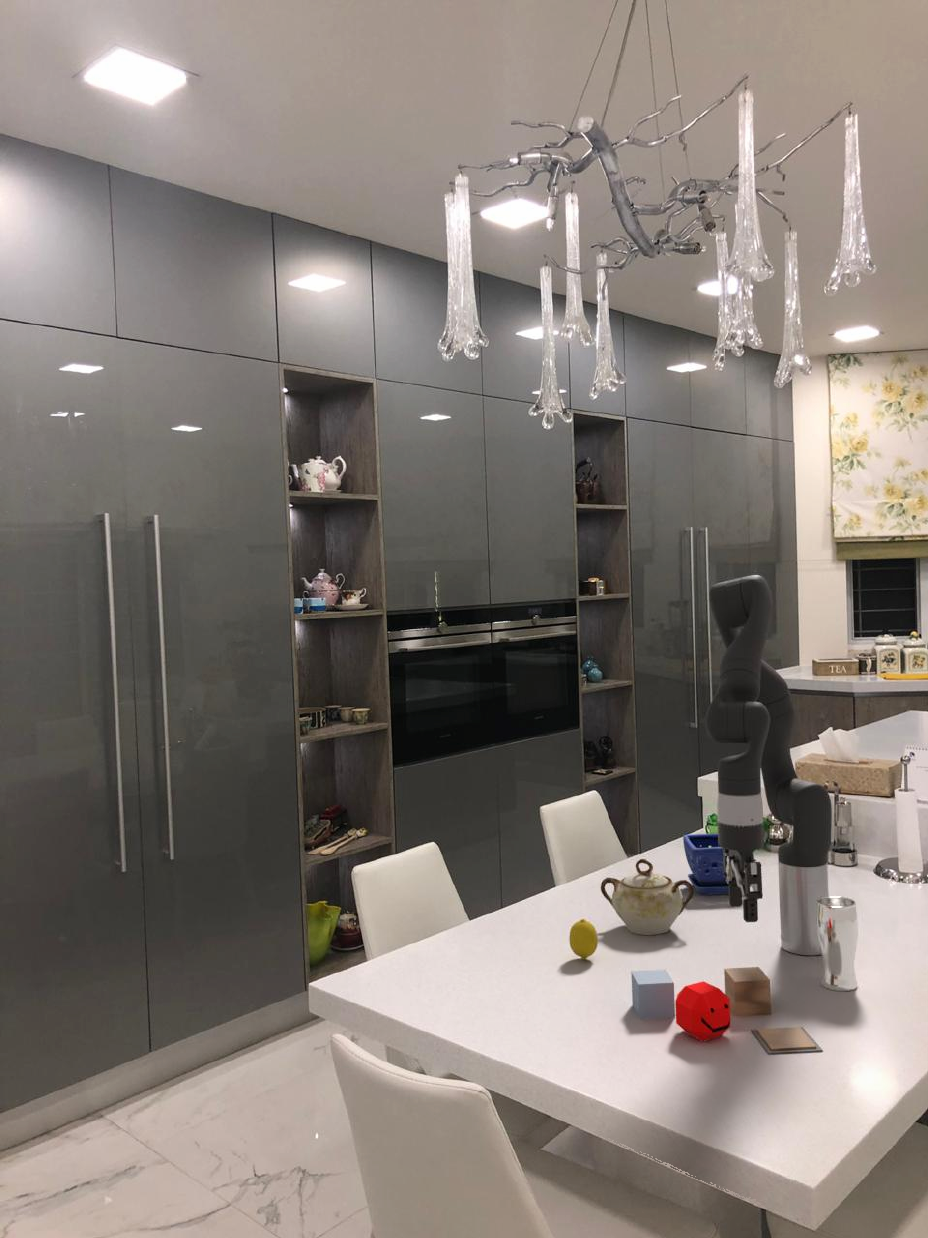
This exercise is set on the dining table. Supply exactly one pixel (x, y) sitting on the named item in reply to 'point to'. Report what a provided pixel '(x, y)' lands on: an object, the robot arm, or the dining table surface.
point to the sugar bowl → (647, 900)
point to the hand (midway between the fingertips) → (743, 913)
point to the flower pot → (705, 863)
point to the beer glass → (837, 941)
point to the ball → (703, 1011)
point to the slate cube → (653, 994)
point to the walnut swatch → (786, 1040)
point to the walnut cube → (748, 991)
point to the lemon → (583, 939)
